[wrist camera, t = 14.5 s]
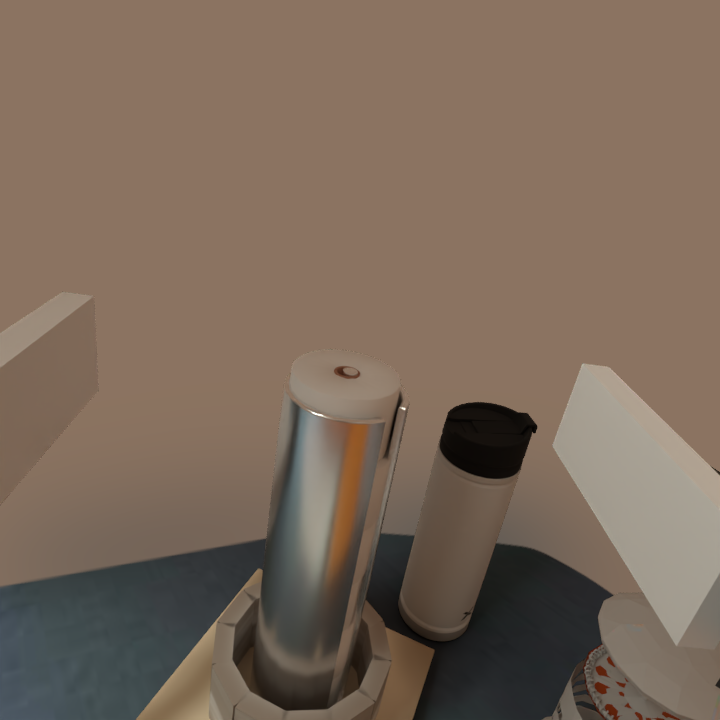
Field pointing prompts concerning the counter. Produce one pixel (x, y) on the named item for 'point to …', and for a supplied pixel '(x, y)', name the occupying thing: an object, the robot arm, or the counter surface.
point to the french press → (642, 671)
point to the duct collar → (258, 716)
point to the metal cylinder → (324, 523)
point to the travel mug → (462, 516)
